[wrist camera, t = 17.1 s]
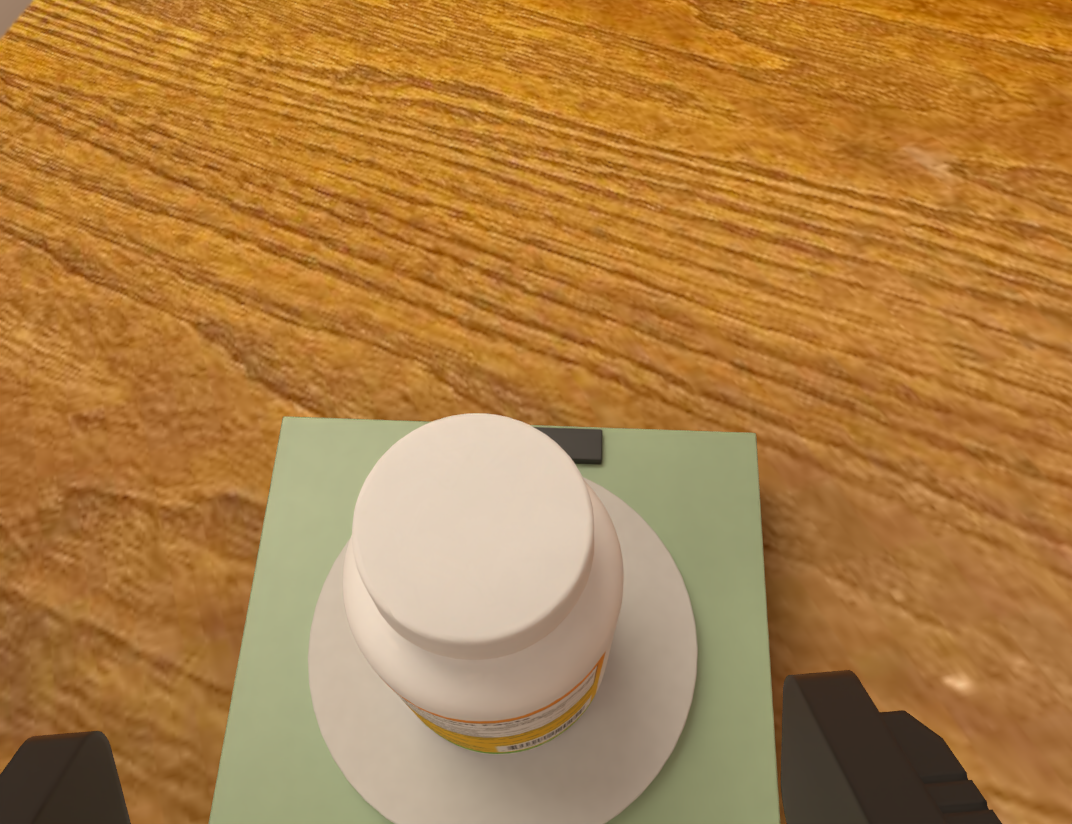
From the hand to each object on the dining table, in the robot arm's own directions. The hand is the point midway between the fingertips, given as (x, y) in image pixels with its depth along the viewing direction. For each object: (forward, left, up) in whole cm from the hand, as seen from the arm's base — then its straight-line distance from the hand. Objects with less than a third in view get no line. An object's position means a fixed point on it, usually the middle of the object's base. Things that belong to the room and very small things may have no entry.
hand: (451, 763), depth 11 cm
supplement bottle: (0, +4, -12) cm, 13 cm away
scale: (0, +4, -16) cm, 17 cm away
